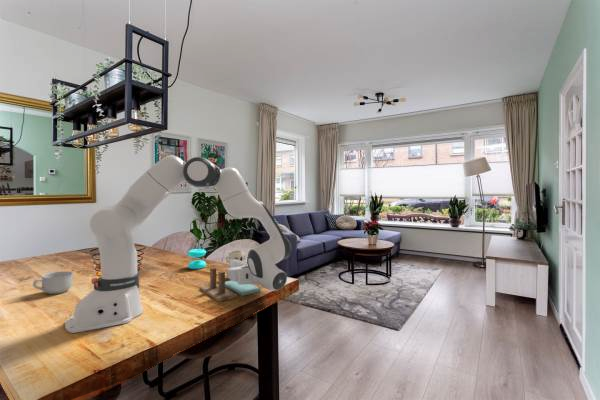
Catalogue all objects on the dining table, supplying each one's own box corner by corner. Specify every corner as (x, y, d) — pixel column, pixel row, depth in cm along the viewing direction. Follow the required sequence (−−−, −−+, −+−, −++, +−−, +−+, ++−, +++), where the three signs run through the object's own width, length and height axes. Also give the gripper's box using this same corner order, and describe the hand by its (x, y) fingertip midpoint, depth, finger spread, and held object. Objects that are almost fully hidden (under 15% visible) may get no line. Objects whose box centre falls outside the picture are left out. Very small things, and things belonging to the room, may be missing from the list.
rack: (219, 302, 117) (218, 276, 116) (199, 289, 132) (199, 267, 132) (237, 297, 122) (237, 273, 122) (216, 285, 137) (216, 264, 137)
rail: (247, 275, 127) (246, 265, 127) (229, 268, 139) (229, 259, 139) (253, 273, 129) (252, 264, 129) (235, 267, 141) (235, 258, 141)
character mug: (229, 280, 146) (229, 254, 145) (223, 277, 151) (222, 251, 151) (248, 276, 153) (248, 251, 152) (242, 273, 158) (241, 249, 158)
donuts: (194, 252, 164) (184, 250, 170) (195, 270, 164) (184, 268, 170) (209, 249, 172) (199, 248, 178) (209, 266, 172) (199, 264, 178)
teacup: (68, 286, 137) (68, 269, 137) (77, 290, 131) (77, 273, 131) (28, 295, 126) (28, 276, 126) (36, 300, 120) (35, 280, 119)
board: (242, 295, 124) (242, 292, 124) (222, 284, 138) (222, 282, 138) (260, 290, 130) (260, 288, 130) (239, 281, 144) (239, 278, 144)
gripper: (278, 261, 129) (261, 256, 140) (236, 269, 116) (220, 263, 127) (278, 275, 130) (261, 269, 140) (236, 285, 116) (220, 278, 127)
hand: (241, 266), depth 133 cm, fingers closed on rail, 3 cm apart
